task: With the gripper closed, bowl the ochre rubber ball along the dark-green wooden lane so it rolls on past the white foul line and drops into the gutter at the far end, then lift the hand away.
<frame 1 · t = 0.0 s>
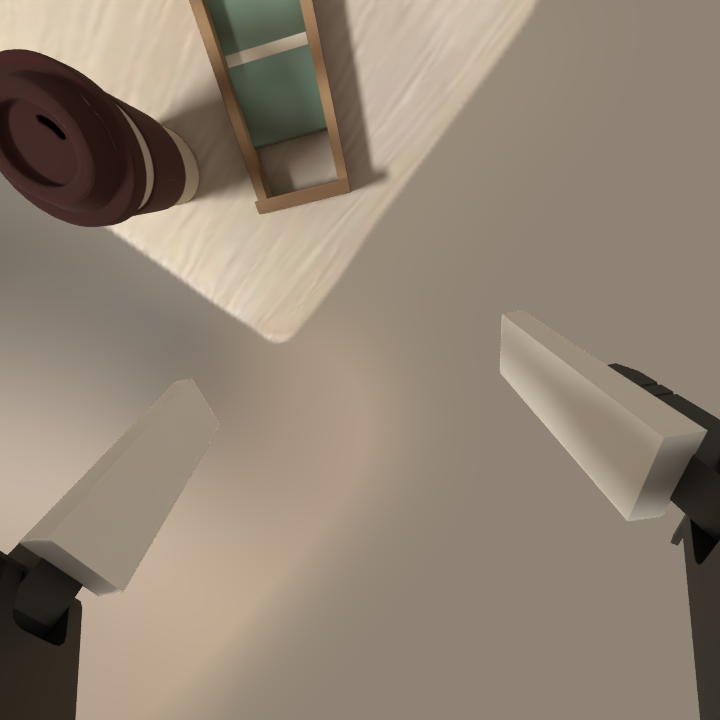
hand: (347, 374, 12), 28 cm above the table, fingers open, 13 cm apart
coffee cup: (167, 167, 32), on the table
lane: (273, 69, 28), on the table
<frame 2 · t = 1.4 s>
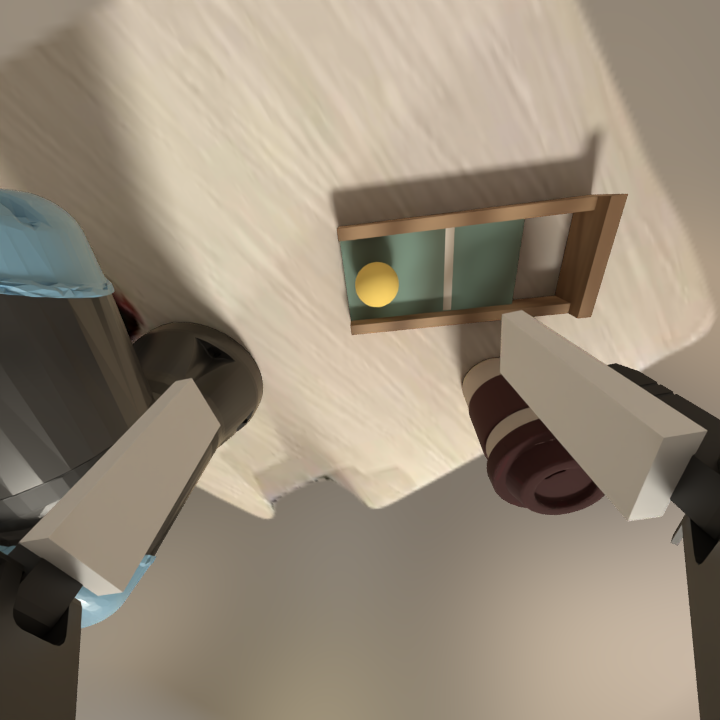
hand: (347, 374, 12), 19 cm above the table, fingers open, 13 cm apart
coffee cup: (490, 380, 35), on the table
ball: (376, 284, 26), point 3 cm above the table, touching lane
lane: (455, 267, 28), on the table
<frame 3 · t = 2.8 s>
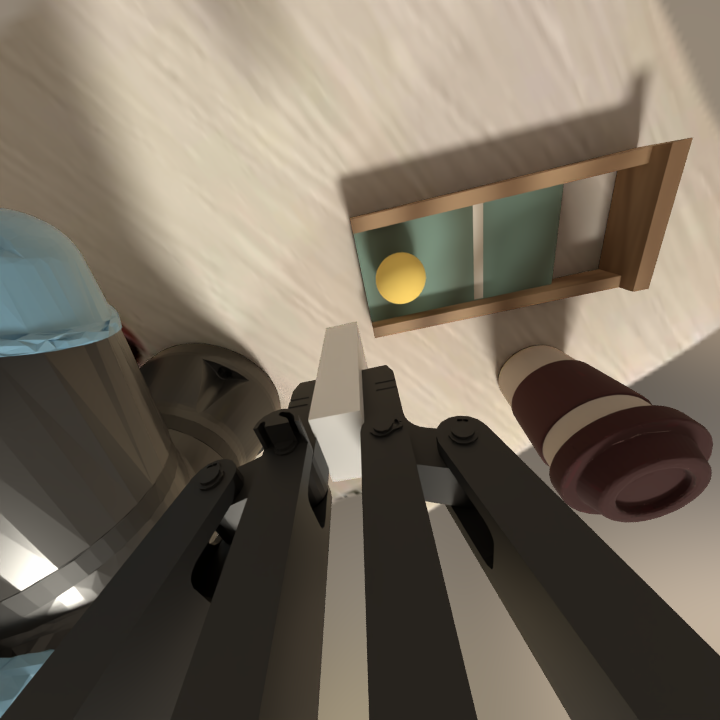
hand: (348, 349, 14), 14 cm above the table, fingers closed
coffee cup: (528, 371, 32), on the table
ball: (400, 278, 23), point 3 cm above the table, touching lane
lane: (484, 249, 25), on the table
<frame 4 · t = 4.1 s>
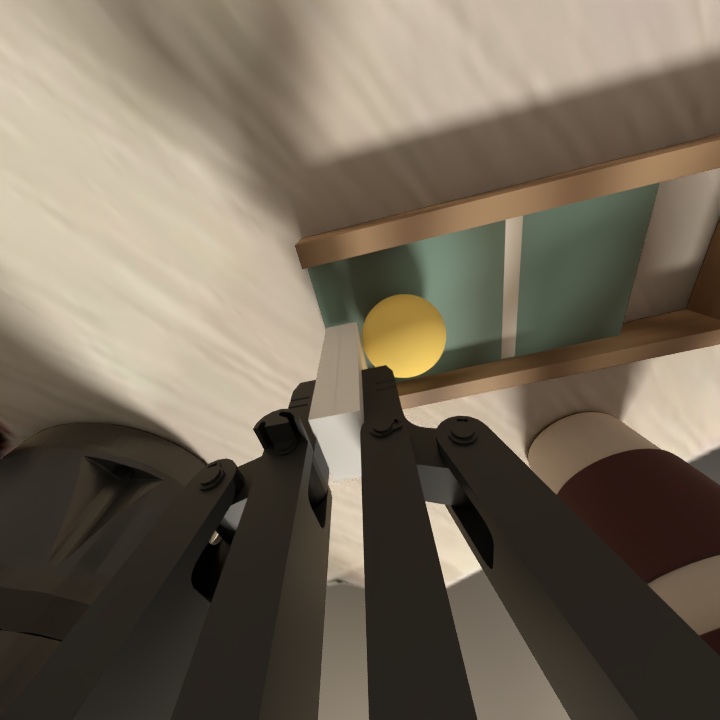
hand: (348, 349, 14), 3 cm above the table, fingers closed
coffee cup: (569, 442, 23), on the table
ball: (403, 336, 14), point 3 cm above the table, tilted 19°, touching lane
lane: (517, 284, 16), on the table
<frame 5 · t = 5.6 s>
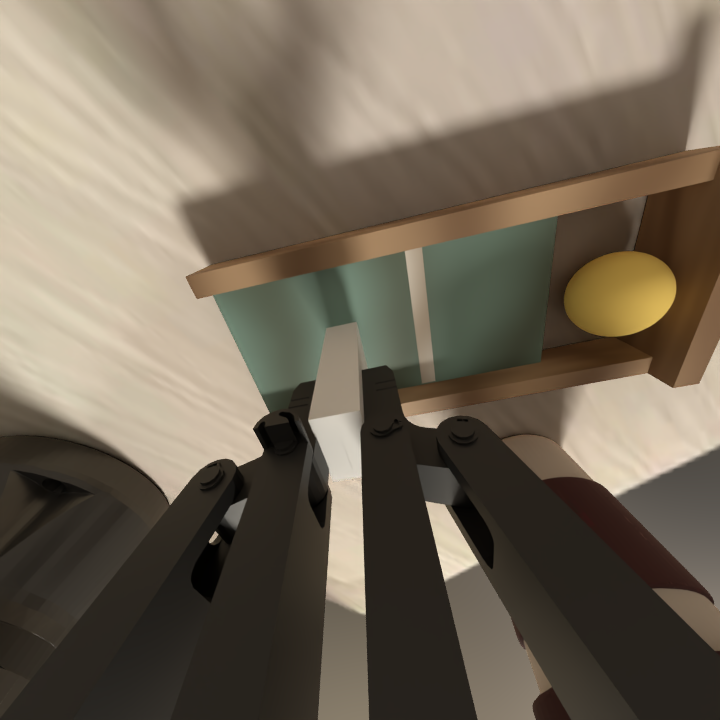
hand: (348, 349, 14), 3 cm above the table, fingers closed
coffee cup: (511, 463, 23), on the table
ball: (614, 295, 14), point 2 cm above the table, tilted 124°
lane: (434, 310, 16), on the table
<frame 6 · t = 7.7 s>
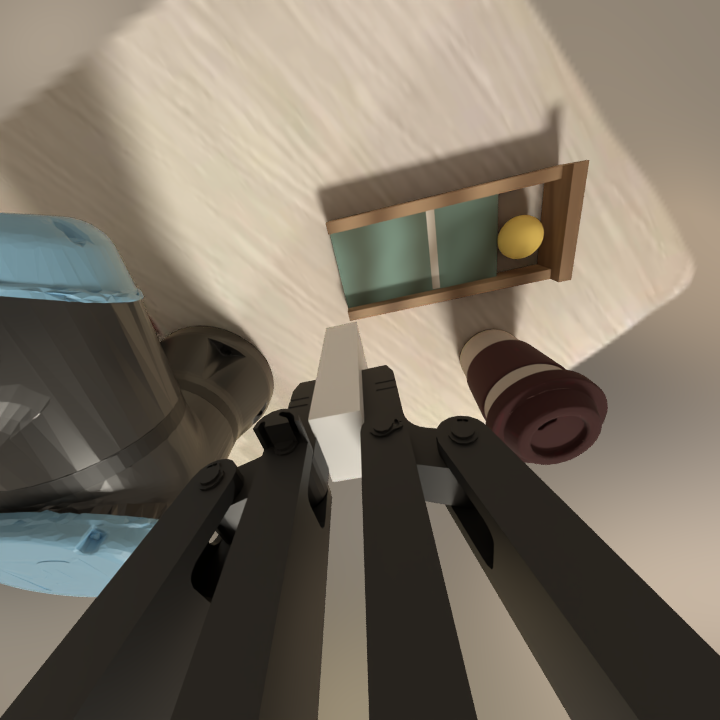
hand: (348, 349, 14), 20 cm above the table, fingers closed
coffee cup: (486, 352, 37), on the table
ball: (519, 237, 28), point 2 cm above the table, tilted 100°
lane: (439, 247, 30), on the table
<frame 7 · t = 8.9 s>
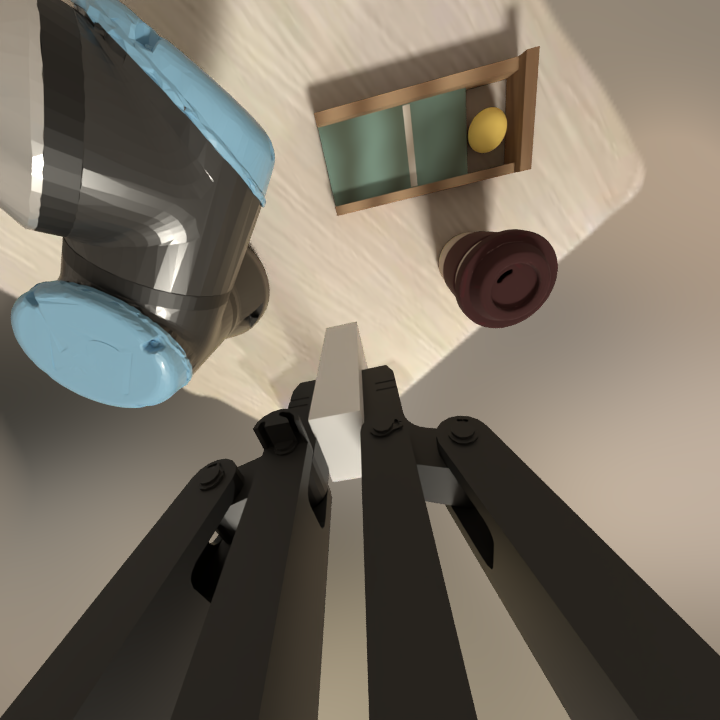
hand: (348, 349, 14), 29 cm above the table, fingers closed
coffee cup: (462, 259, 41), on the table
ball: (487, 131, 32), point 2 cm above the table, tilted 104°
lane: (416, 147, 34), on the table
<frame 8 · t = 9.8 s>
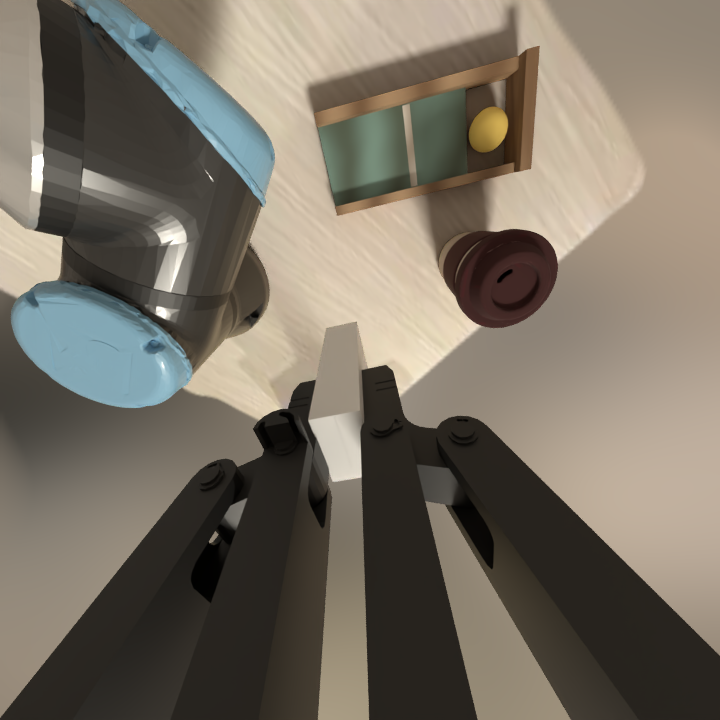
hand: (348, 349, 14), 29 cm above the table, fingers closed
coffee cup: (462, 259, 41), on the table
ball: (487, 130, 32), point 2 cm above the table, tilted 107°
lane: (416, 147, 34), on the table
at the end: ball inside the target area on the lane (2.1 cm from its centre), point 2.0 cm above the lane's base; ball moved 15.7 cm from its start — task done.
